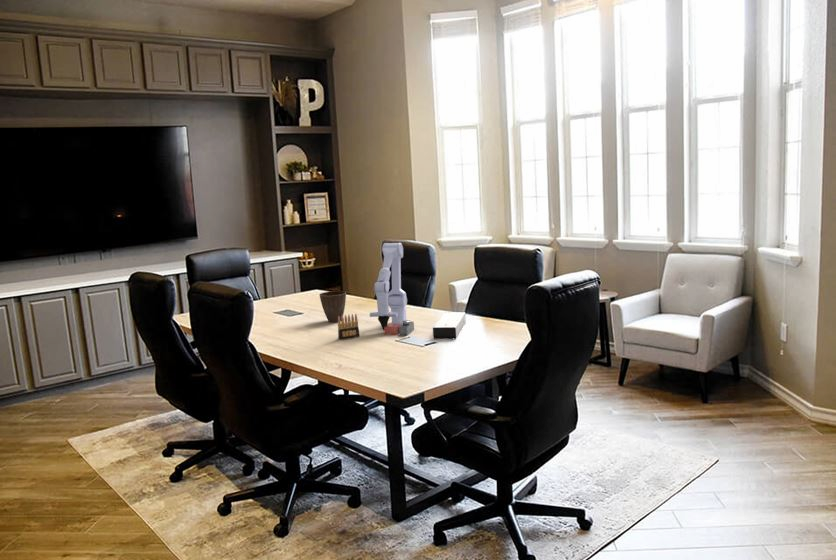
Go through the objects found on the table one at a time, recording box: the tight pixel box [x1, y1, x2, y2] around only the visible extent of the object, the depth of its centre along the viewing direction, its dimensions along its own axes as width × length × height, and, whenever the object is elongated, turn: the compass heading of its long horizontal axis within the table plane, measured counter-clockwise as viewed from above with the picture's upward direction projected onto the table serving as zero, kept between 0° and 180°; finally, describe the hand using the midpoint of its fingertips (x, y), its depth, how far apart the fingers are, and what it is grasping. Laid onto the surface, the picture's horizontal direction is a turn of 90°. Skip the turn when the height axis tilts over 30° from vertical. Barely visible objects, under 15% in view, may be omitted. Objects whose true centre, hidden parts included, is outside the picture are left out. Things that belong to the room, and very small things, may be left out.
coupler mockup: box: [398, 319, 415, 337], centre depth 349 cm, size 12×11×6 cm
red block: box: [383, 322, 402, 335], centre depth 350 cm, size 8×7×4 cm
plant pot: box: [319, 290, 347, 323], centre depth 384 cm, size 15×15×16 cm
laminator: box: [432, 311, 467, 340], centre depth 347 cm, size 34×12×6 cm, turn 168°
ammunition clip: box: [337, 313, 361, 340], centre depth 343 cm, size 11×2×12 cm, turn 112°
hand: (384, 330), depth 351 cm, fingers closed
